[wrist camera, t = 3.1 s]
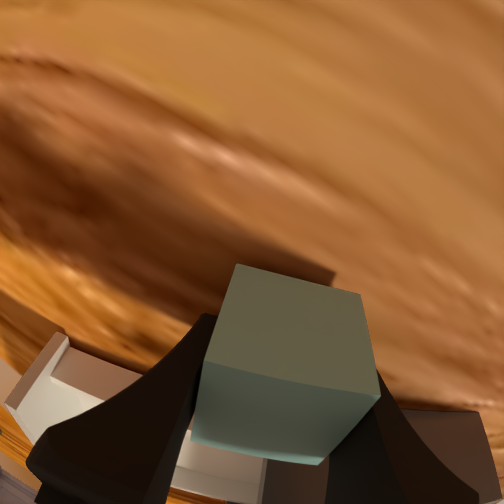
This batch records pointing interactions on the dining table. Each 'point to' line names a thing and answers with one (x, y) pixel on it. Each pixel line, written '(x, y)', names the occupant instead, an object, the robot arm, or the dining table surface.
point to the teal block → (285, 369)
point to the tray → (101, 389)
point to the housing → (432, 434)
